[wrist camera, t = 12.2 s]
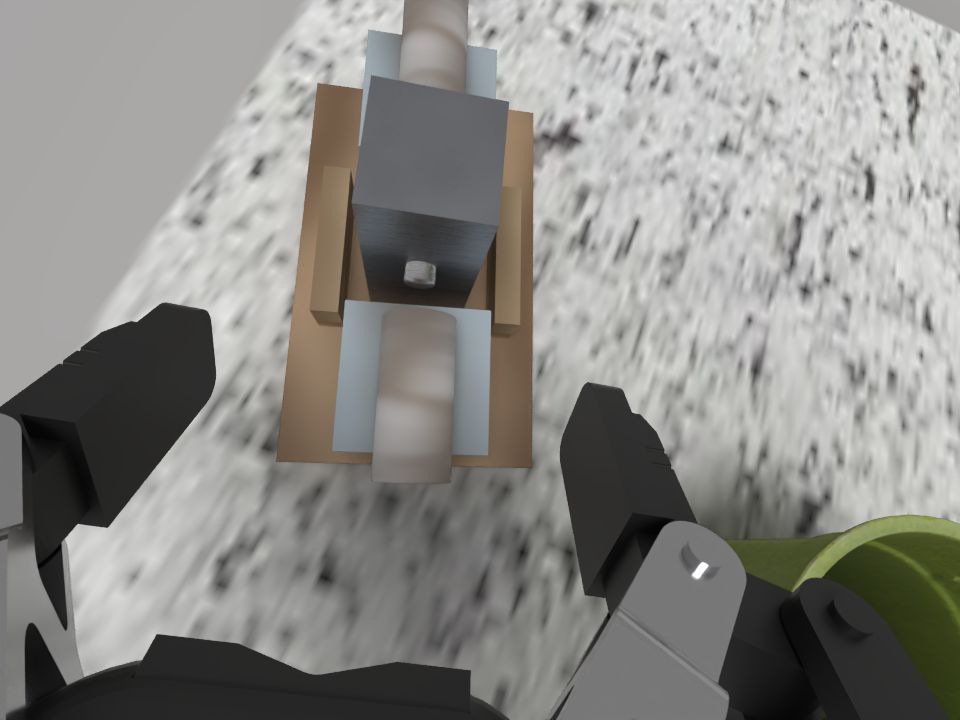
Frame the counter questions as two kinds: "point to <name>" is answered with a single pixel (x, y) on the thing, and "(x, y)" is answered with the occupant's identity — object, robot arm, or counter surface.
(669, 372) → the counter surface
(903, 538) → the plant pot
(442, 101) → the grey rectangular block
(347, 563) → the counter surface
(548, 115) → the counter surface
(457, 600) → the counter surface
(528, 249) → the shaft bed
